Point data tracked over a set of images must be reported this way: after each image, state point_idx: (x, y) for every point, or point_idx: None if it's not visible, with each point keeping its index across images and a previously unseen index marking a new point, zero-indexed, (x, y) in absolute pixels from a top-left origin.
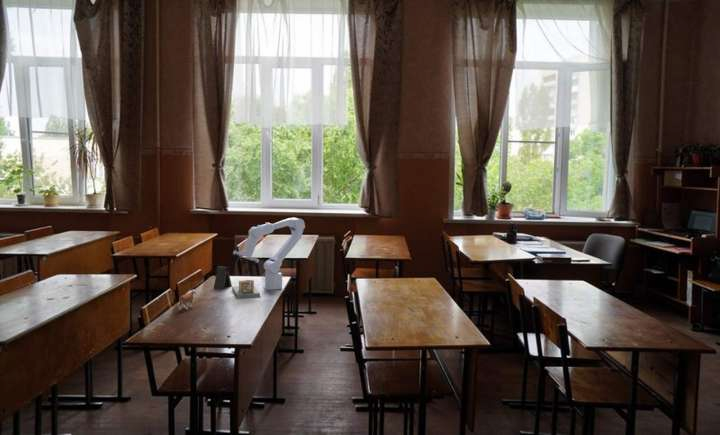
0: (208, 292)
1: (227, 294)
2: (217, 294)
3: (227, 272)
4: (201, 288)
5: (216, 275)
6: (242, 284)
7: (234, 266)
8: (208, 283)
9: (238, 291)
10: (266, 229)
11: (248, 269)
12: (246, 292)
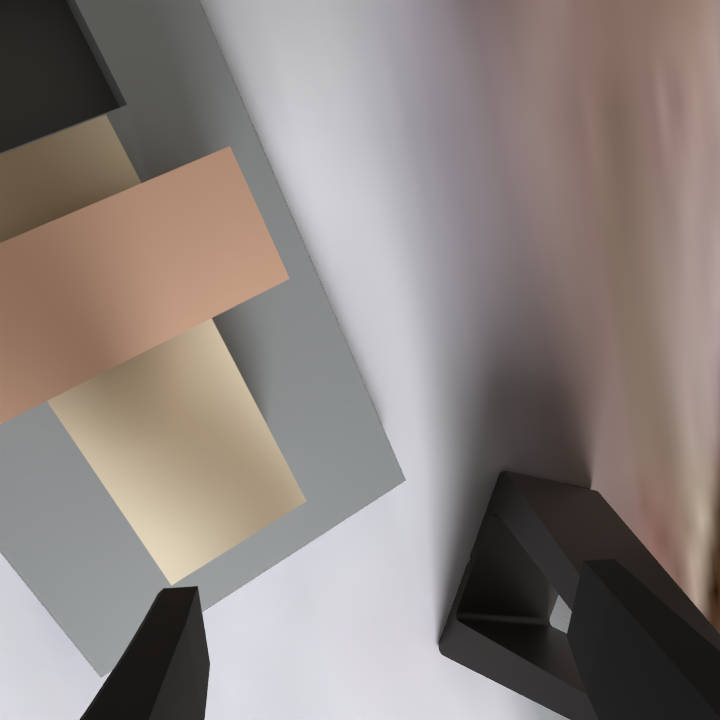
0: (604, 270)
1: (375, 194)
2: (495, 176)
3: None
4: (685, 437)
5: (697, 613)
6: None
7: (630, 596)
8: None
9: None
10: None
11: (132, 688)
12: (34, 141)
